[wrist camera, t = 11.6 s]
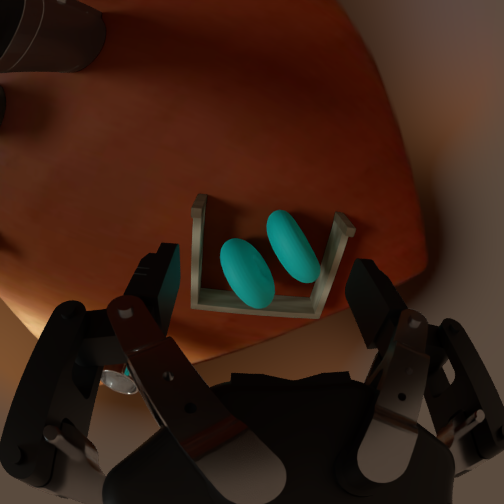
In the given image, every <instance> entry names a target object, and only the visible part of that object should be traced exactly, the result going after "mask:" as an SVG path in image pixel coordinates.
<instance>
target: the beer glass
mask: <svg viewBox="0 0 504 504" xmlns="http://www.w3.org/2000/svg"><path fill="white" fill-rule="evenodd" d="M100 380H101V381H102V382H103V383H104V384H105V385H106V386H107V387H109V388H111V389H112V390H114V391H117V392H120V393H123V394H135V393H137V392H138V388H137V386H136V384H135V383H134V381H133V379H132V377H131V375H130V373H129V371H128V369H127V367H126V365H125V363H123V364H114V365H104V369H103V372H102V376H101V379H100Z"/></svg>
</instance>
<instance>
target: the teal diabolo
mask: <svg viewBox="0 0 504 504" xmlns="http://www.w3.org/2000/svg"><path fill="white" fill-rule="evenodd" d="M267 234H268V238H269V241H270V243H271V246H272V248H273V250H274V252H275V254H276V255H277V257H278V259H279V260H280V262H281V264H282V265H283V266H284V268H285V269H286V270H287V272H288V273H289V274H290V275H291V276H292V277H294V278H295V279H296V280H298V281H300V282H303V283H311V282H314V281H315V280H317V279H318V277H319V275H320V265H319V262H318V260H317V258H316V255H315V253H314V251H313V249H312V248H311V246H310V244H309V242H308V240H307V239H306V237H305V235H304V234H303V232H302V230H301V229H300V227H299V226H298V224H297V223H296V221H295V220H294V219H293V217H292V216H291V215H290V214H289V213H288V212H286V211H284V210H277V211H274V212H273V213H272V214H271V215H270V216H269V218H268V220H267ZM220 260H221V265H222V269H223V272H224V274H225V277H226V279H227V281H228V283H229V284H230V286H231V288H232V289H233V291H234V292H235V293H236V295H237V296H238V297H239V298H240V299H241V300H242V301H243V302H244V303H245V304H247V305H248V306H250V307H253V308H256V309H262V308H265V307H267V306H268V305H269V304H270V303H271V302H272V300H273V298H274V293H275V286H274V281H273V277H272V274H271V272H270V270H269V268H268V266H267V264H266V262H265V260H264V259H263V257H262V256H261V254H260V253H259V252H258V251H257V250H256V249H255V247H253V246H252V245H251V244H250V243H248V242H247V241H245V240H242V239H239V238H233V239H230V240H228V241H226V242H225V243H224V244H223V246H222V248H221V253H220Z"/></svg>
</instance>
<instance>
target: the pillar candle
mask: <svg viewBox="0 0 504 504" xmlns="http://www.w3.org/2000/svg"><path fill="white" fill-rule="evenodd" d="M5 106H6V99H5V94H4V90H3V88H2V87H1V86H0V125H1V123H2V120H3V117H4V112H5Z"/></svg>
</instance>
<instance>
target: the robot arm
mask: <svg viewBox="0 0 504 504" xmlns="http://www.w3.org/2000/svg"><path fill="white" fill-rule="evenodd" d="M101 15H102V12H100V11H98V10H96V9H94V8H92V7H90V6H88V5H86V4H84V3H81V2H79V1H77V0H0V73H10V72H60V73H65V72H67V73H70V72H76V71H79V70H81V69H83V68H85V67H86V66H87V65H89V64H90V63H91V62H92V61H93V60H94V59H95V58H96V56H97V55H98V53H99V52H100V50H101V48H102V46H103V43H104V41H105V36H106V28H105V24H104V22H103V21H102V19H101ZM179 285H180V251H179V244H174V243H161V245H160V247H159V249H158V251H157V253H149V254H147V255H146V256H145V257H144V258H142V259H141V261H140V263H139V265H138V267H137V269H136V270H135V272H134V274H133V276H132V278H131V280H130V282H129V284H128V286H127V288H126V290H125V292H124V295H123V296H119V297H117V298H115V299H113V300H112V301H111V302H110V303H109V305H108V307H107V309H102V310H93V311H86V309H85V306H84V305H83V304H82V303H81V302H79V301H74V300H71V301H66V302H63V303H61V304H60V305H58V306H57V307H56V308H55V310H54V311H53V313H52V315H51V317H50V318H49V320H48V322H47V324H46V326H45V328H44V330H43V332H42V334H41V336H40V338H39V340H38V342H37V344H36V346H35V348H34V350H33V352H32V355H31V357H30V359H29V361H28V363H27V366H26V368H25V370H24V373H23V375H22V378H21V380H20V383H19V385H18V388H17V390H16V393H15V396H14V398H13V401H12V404H11V407H10V410H9V413H8V416H7V420H6V423H5V426H4V430H3V434H2V437H1V441H0V462H1V464H2V466H3V468H4V469H5V470H6V472H7V473H9V474H10V475H11V476H13V477H14V478H16V479H18V480H20V481H23V482H25V483H26V484H27V485H29V486H31V487H33V488H36V489H38V490H40V491H43V492H45V493H48V494H51V495H56V496H59V497H61V498H67V499H68V498H70V499H73V500H75V501H78V502H81V503H84V504H452V490H453V482H454V477H459V476H461V475H463V474H465V473H467V472H469V471H471V470H472V469H474V468H476V467H478V466H479V465H481V464H483V463H484V462H486V461H488V460H489V459H491V458H492V457H494V456H496V455H497V454H499V453H500V452H502V451H503V450H504V406H503V404H502V401H501V399H500V397H499V394H498V392H497V390H496V388H495V386H494V384H493V381H492V380H491V377H490V376H489V373H488V371H487V370H486V368H485V366H484V364H483V362H482V360H481V358H480V356H479V354H478V352H477V351H476V349H475V347H474V345H473V343H472V342H471V340H470V338H469V337H468V335H467V333H466V332H465V330H464V328H463V327H462V326H461V324H460V323H458V322H457V321H455V320H453V319H450V318H446V319H444V320H443V322H442V323H441V325H440V326H435V325H430V324H428V321H427V319H426V318H425V316H424V315H422V314H421V313H420V312H418V311H416V310H413V309H408V307H407V306H406V304H405V302H404V301H403V299H402V298H401V296H400V295H399V293H398V292H397V291H396V288H395V287H394V285H393V284H392V282H391V281H390V279H389V278H388V276H386V275H385V274H384V273H383V272H382V271H380V270H379V269H378V267H377V266H376V264H375V263H374V261H373V260H371V259H359V258H358V259H356V260H355V262H354V264H353V267H352V270H351V273H350V275H349V278H348V281H347V283H346V287H345V296H346V299H347V301H348V303H349V306H350V308H351V310H352V313H353V315H354V317H355V319H356V322H357V324H358V327H359V329H360V332H361V334H362V337H363V339H364V341H365V344H366V347H367V349H374V348H378V352H377V354H376V355H375V358H374V360H373V363H372V365H371V368H370V370H369V373H368V375H367V377H366V379H365V382H364V383H362V382H359V381H355V380H351V378H350V375H349V371H346V372H332V373H321V374H318V375H314V376H310V377H307V378H303V379H299V380H287V379H283V378H278V377H273V376H269V375H264V374H245V373H244V374H243V373H231V380H230V382H224V383H221V384H217V385H215V386H212V387H210V388H209V386H208V385H207V384H206V383H205V381H204V380H203V379H202V377H201V376H200V375H199V374H198V372H197V371H196V370H195V368H194V367H193V366H192V364H191V363H190V362H189V360H188V359H187V358H186V356H185V355H184V353H183V352H182V351H181V349H180V348H179V346H178V345H177V344H176V342H175V341H174V340H173V338H171V337H170V336H169V337H167V338H166V335H167V331H168V327H169V323H170V319H171V315H172V312H173V308H174V304H175V300H176V297H177V293H178V289H179ZM448 359H449V360H450V362H451V364H452V367H453V369H454V371H455V379H454V381H453V383H452V384H451V385H450V384H449V381H448V379H447V377H446V374H445V372H444V370H443V368H442V366H443V365H444V364H445V363H446V361H447V360H448ZM123 363H125V365H126V367H127V369H128V371H129V373H130V375H131V377H132V379H133V381H134V383H135V384H136V386H137V388H138V390H139V392H140V394H141V395H142V397H143V399H144V401H145V403H146V405H147V407H148V409H149V410H150V412H151V414H152V416H153V417H154V419H155V420H156V422H157V424H158V425H159V427H160V429H159V430H158V431H157V432H156V433H155V434H154V435H152V436H151V437H150V438H149V439H148V440H147V441H145V442H144V443H143V444H142V445H141V446H140V447H138V448H137V449H136V450H135V451H134V452H132V453H131V454H130V455H128V456H127V457H126V458H125V459H124V460H122V461H121V462H120V463H118V464H117V465H116V466H115V467H114V468H112V470H111V471H110V472H109V473H108V475H107V476H105V475H104V474H103V472H102V471H101V469H100V466H99V459H98V452H97V449H96V447H95V446H94V444H93V443H92V442H91V441H90V440H89V439H88V438H87V436H88V430H89V425H90V420H91V416H92V411H93V407H94V403H95V398H96V395H97V391H98V387H99V383H100V379H101V376H102V372H103V369H104V365H114V364H123ZM423 395H424V398H425V400H426V403H427V406H428V409H429V412H430V415H431V418H432V421H433V424H434V427H435V431H436V434H437V437H435V436H434V435H433V434H431V433H430V432H429V431H427V430H426V429H425V428H424V427H422V426H421V425H420V424H418V423H417V419H418V415H419V412H420V408H421V404H422V399H423Z"/></svg>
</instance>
